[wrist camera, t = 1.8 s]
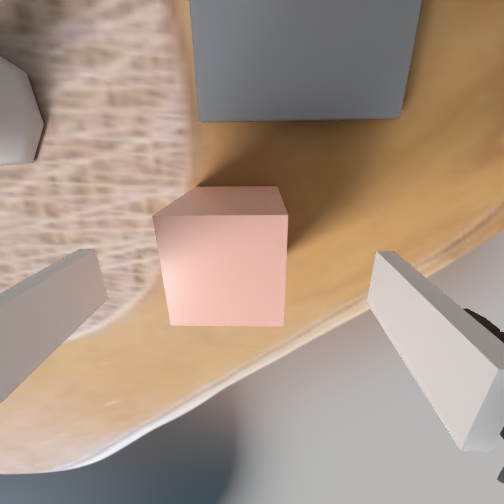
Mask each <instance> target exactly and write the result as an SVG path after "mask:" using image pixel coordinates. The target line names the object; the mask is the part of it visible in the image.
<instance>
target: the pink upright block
mask: <svg viewBox="0 0 504 504" xmlns="http://www.w3.org/2000/svg"><path fill="white" fill-rule="evenodd" d="M153 222H154V228H155V234H156V240H157V246H158V252H159V258H160V264H161V270H162V276H163V282H164V288H165V294H166V300H167V306H168V311H169V317H170V323H171V325H182V326H284V304H285V280H286V256H287V232H288V213H287V211H286V208H285V205H284V203H283V200H282V197H281V195H280V192H279V189H278V187H277V186H219V187H195V188H193V189H192V190H190V191H189V192H187V193H186V194H184V195H183V196H181V197H180V198H178V199H177V200H175V201H174V202H172V203H171V204H169V205H168V206H166V207H165V208H163V209H162V210H160V211H159V212H157V213H156V214H154V215H153Z"/></svg>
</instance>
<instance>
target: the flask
mask: <svg viewBox="0 0 504 504" xmlns="http://www.w3.org/2000/svg"><path fill="white" fill-rule="evenodd" d="M43 126H44V123H43V120H42V117H41V114H40V112H39V109H38V106H37V103H36V100H35V97H34V94H33V91H32V88H31V85H30V82H29V79H28V76H27V73H26V72H24V71H23V70H21V69H20V68H18V67H17V66H15V65H14V64H12V63H10V62H9V61H7V60H6V59H4V58H3V57H1V56H0V165H8V164H23V163H33V160H34V157H35V153H36V150H37V146H38V143H39V139H40V136H41V133H42V129H43Z"/></svg>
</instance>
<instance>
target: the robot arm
mask: <svg viewBox="0 0 504 504" xmlns="http://www.w3.org/2000/svg"><path fill="white" fill-rule="evenodd" d="M107 299H108V296H107V292H106V289H105V285H104V281H103V277H102V274H101V270H100V266H99V262H98V259H97V255H96V251H95V249H79V250H77V251H75V252H73V253H72V254H70V255H68V256H66V257H65V258H63V259H61V260H59V261H57V262H56V263H54V264H52V265H50V266H48V267H47V268H45V269H43V270H41V271H40V272H38V273H36V274H34V275H32V276H31V277H29V278H27V279H25V280H24V281H22V282H20V283H18V284H16V285H15V286H13V287H11V288H9V289H8V290H6V291H4V292H2V293H0V404H1V403H2V402H3V401H4V400H5V399H6V398H7V397H8V396H9V395H10V394H11V393H12V392H13V391H14V390H15V389H16V388H17V387H18V386H19V385H20V384H21V383H22V382H23V381H24V380H25V379H26V378H27V377H28V376H29V375H30V374H31V373H32V372H33V371H34V370H35V369H36V368H37V367H38V366H39V365H40V364H42V363H43V362H44V361H45V360H46V359H47V358H48V357H49V356H50V355H51V354H52V353H53V352H54V351H55V350H56V349H57V348H58V347H59V346H60V345H61V344H62V343H63V342H64V341H65V340H66V339H67V338H68V337H69V336H70V335H71V334H72V333H73V332H74V331H75V330H76V329H77V328H78V327H79V326H80V325H81V324H83V323H84V322H85V321H86V320H87V319H88V318H89V317H90V316H91V315H92V314H93V313H94V312H95V311H96V310H97V309H98V308H99V307H100V306H101V305H102V304H103V303H104V302H105V301H106V300H107ZM367 304H368V305H369V307H370V309H371V310H372V312H373V313H374V315H375V317H376V318H377V320H378V321H379V323H380V324H381V326H382V327H383V329H384V331H385V332H386V334H387V335H388V337H389V338H390V340H391V342H392V343H393V345H394V346H395V348H396V350H397V351H398V353H399V354H400V356H401V358H402V359H403V361H404V362H405V364H406V365H407V367H408V368H409V370H410V372H411V373H412V375H413V376H414V378H415V379H416V381H417V382H418V384H419V386H420V387H421V389H422V390H423V392H424V394H425V395H426V397H427V398H428V400H429V402H430V403H431V405H432V406H433V408H434V410H435V411H436V413H437V414H438V416H439V417H440V419H441V421H442V422H443V424H444V425H445V427H446V428H447V430H448V432H449V433H450V435H451V436H452V438H453V439H454V441H455V443H456V444H457V446H458V447H459V449H460V450H466V451H488V452H492V450H493V449H494V447H495V445H496V443H497V441H498V439H499V438H500V436H502V437H503V439H504V332H500V329H498V328H497V327H496V326H495V325H493V324H492V323H491V322H490V321H488V320H487V319H486V318H484V317H482V316H480V315H478V314H477V313H475V312H473V311H471V310H469V309H462V308H461V307H460V306H459V305H457V304H456V303H455V302H454V301H453V300H452V299H450V298H449V297H448V296H447V295H446V294H444V293H443V292H442V291H441V290H440V289H438V288H437V287H436V286H435V285H434V284H432V283H431V282H430V281H429V280H428V279H427V278H425V277H424V276H423V275H422V274H421V273H419V272H418V271H417V270H416V269H415V268H413V267H412V266H411V265H410V264H409V263H407V262H406V261H405V260H404V259H403V258H401V257H400V256H399V255H398V254H397V253H395V252H394V251H376V257H375V262H374V267H373V273H372V278H371V283H370V289H369V294H368V300H367ZM497 480H498V481H500V482H502V483H504V467H503V469H502V471H501V472H500V474H499V477H498V479H497Z"/></svg>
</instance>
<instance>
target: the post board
mask: <svg viewBox="0 0 504 504" xmlns="http://www.w3.org/2000/svg"><path fill="white" fill-rule="evenodd" d="M421 3H422V0H189V4H190V16H191V28H192V40H193V52H194V64H195V76H196V88H197V100H198V112H199V121H201V122H255V121H312V120H369V119H394V118H400V116H401V111H402V105H403V100H404V95H405V89H406V84H407V78H408V73H409V68H410V62H411V57H412V52H413V46H414V41H415V36H416V30H417V25H418V19H419V14H420V9H421Z"/></svg>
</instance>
